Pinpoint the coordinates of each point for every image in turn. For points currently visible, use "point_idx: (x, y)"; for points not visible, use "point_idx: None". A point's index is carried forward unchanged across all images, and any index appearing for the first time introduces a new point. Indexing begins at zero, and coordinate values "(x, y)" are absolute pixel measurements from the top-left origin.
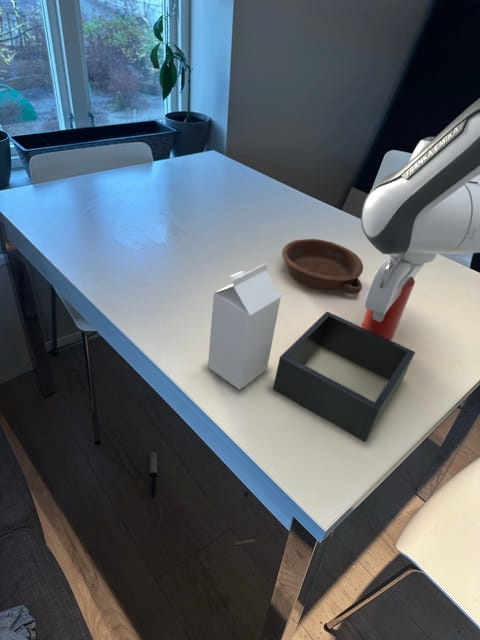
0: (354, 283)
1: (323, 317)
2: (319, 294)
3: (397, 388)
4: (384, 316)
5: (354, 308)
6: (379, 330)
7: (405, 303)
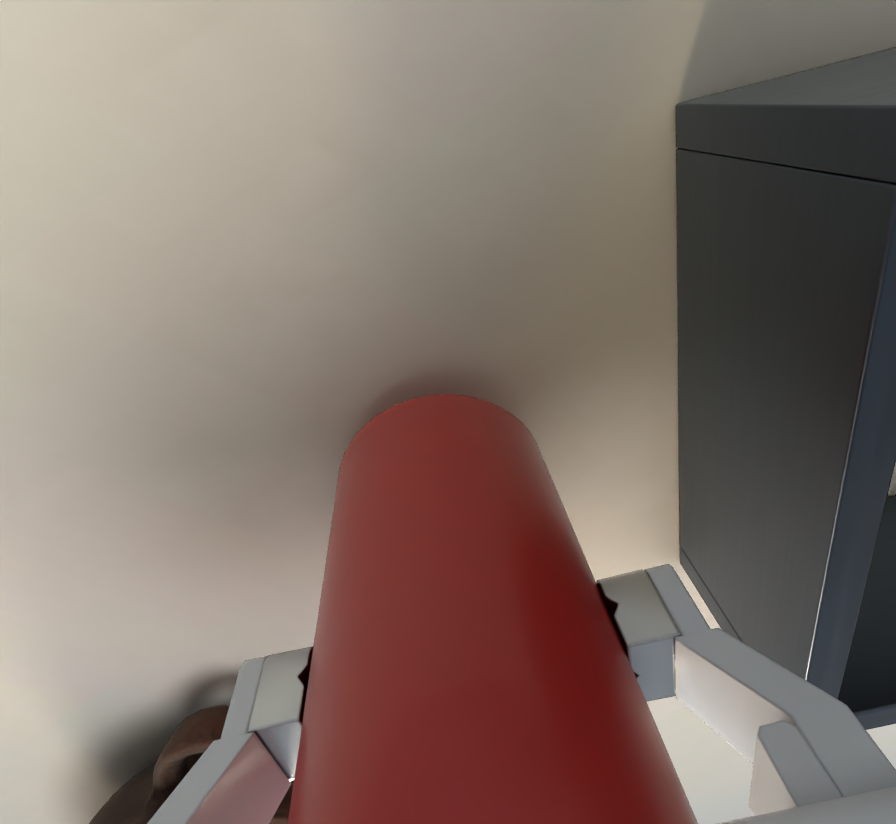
0: (189, 764)
1: (871, 721)
2: None
3: (808, 73)
4: (641, 600)
5: (303, 635)
6: (557, 492)
7: (479, 680)
